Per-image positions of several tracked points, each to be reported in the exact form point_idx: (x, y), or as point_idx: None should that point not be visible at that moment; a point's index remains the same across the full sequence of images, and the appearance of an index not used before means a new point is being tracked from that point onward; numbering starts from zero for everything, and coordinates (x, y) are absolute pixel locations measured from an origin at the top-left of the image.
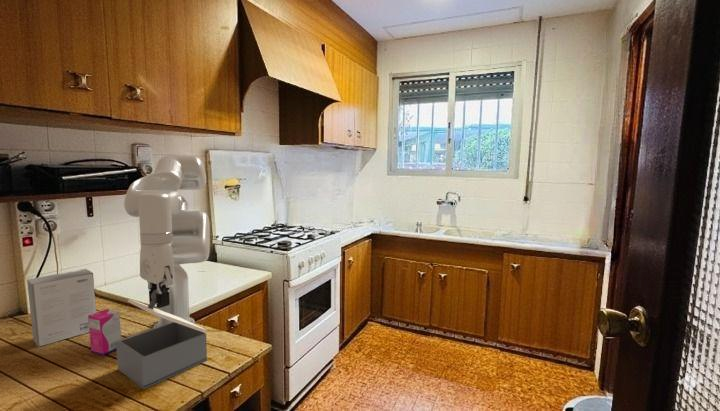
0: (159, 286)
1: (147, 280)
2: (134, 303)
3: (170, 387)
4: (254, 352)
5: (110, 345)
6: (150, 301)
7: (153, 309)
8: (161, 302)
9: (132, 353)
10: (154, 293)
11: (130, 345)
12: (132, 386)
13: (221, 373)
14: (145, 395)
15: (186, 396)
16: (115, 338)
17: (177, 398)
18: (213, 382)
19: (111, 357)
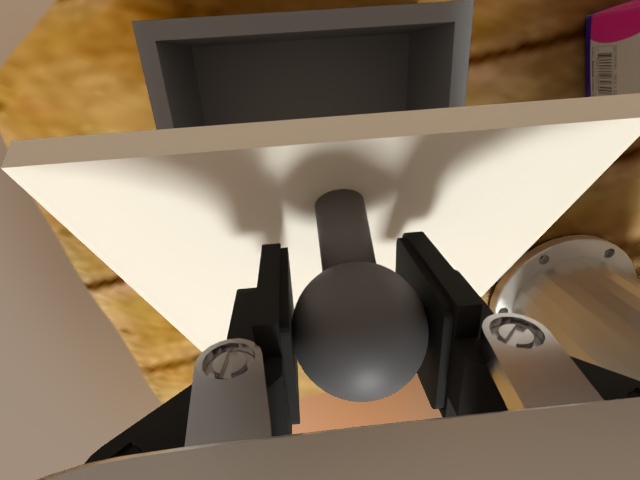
0: (189, 443)
1: (433, 425)
2: (496, 114)
3: (125, 113)
4: (165, 388)
5: (608, 50)
6: (412, 245)
7: (312, 217)
8: (238, 296)
9: (255, 14)
10: (337, 316)
11: (435, 75)
12: (234, 10)
13: (102, 270)
14: (128, 21)
15: (23, 128)
16: (626, 77)
17: (29, 100)
18: (60, 229)
19: (540, 37)
